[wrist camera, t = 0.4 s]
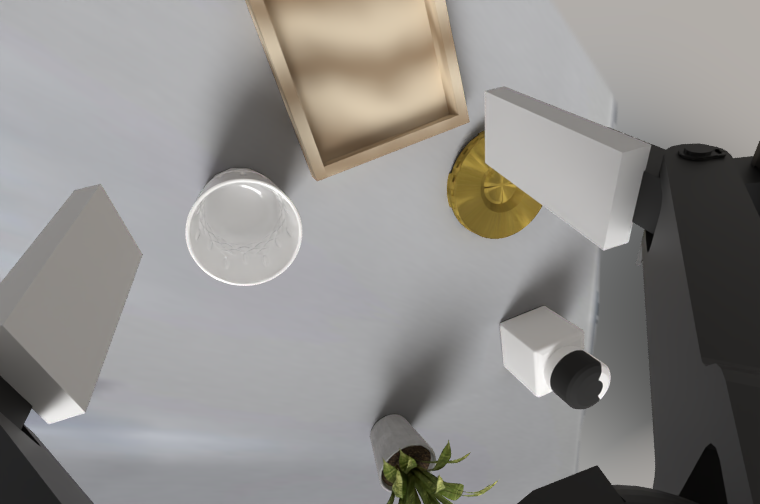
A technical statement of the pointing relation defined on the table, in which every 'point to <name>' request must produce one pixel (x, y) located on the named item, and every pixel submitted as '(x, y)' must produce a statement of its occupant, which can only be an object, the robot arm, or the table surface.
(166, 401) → the table surface
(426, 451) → the house plant
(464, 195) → the gold notched disc
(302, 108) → the tray
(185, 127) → the table surface
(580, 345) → the medicine bottle
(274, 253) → the white cup
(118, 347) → the table surface
